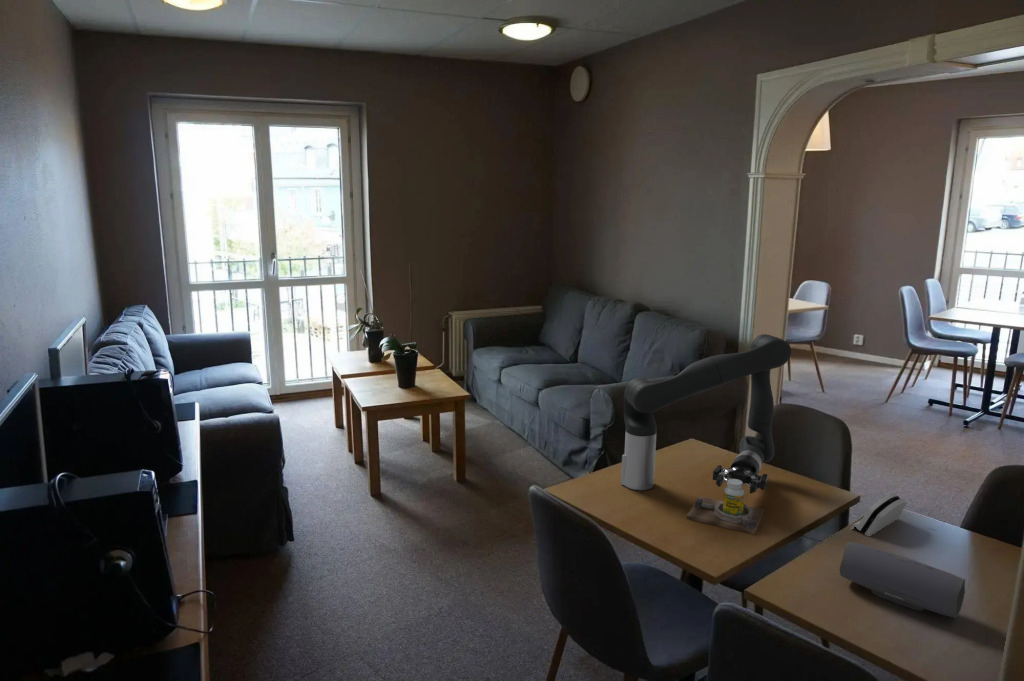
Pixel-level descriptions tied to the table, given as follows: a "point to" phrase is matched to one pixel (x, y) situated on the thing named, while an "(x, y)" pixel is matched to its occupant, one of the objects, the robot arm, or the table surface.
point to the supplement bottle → (733, 498)
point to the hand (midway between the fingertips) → (734, 486)
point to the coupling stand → (725, 515)
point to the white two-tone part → (881, 514)
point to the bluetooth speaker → (903, 579)
